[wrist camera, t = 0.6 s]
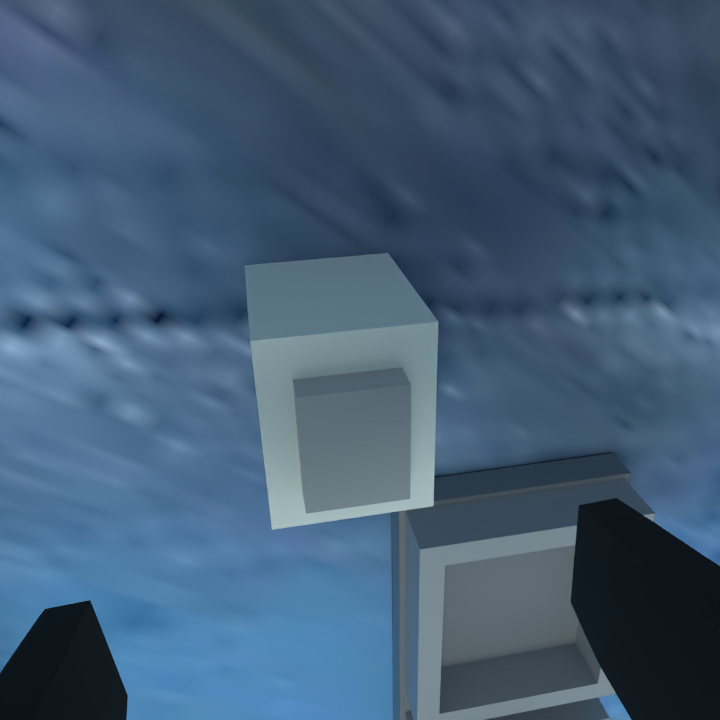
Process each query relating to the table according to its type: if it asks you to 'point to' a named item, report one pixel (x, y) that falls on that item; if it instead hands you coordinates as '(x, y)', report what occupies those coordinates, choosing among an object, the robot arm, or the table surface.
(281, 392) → the grey plug
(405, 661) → the socket strip
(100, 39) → the table surface
